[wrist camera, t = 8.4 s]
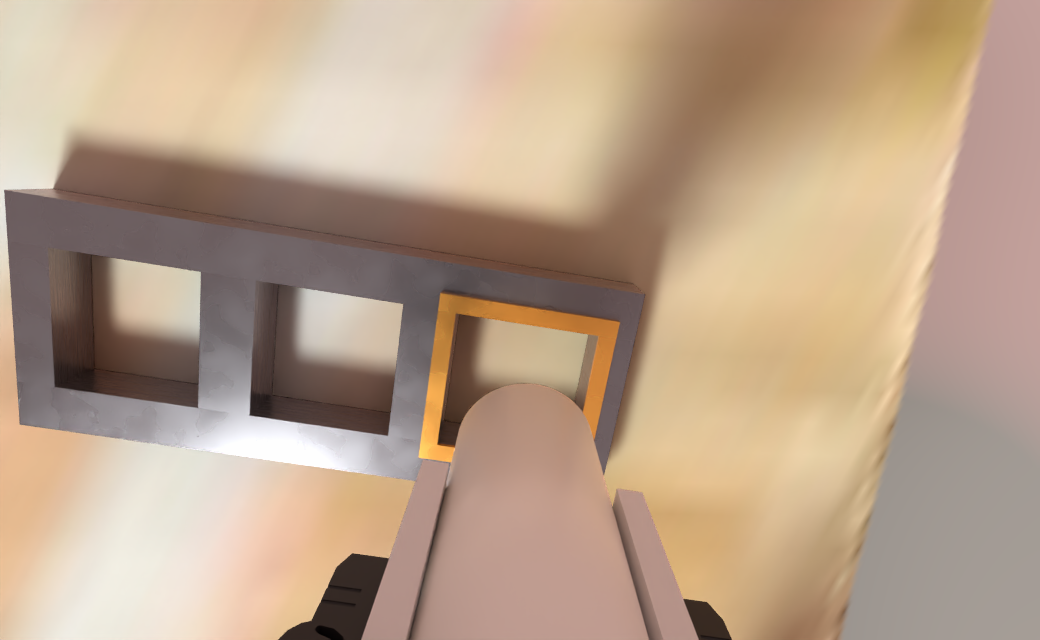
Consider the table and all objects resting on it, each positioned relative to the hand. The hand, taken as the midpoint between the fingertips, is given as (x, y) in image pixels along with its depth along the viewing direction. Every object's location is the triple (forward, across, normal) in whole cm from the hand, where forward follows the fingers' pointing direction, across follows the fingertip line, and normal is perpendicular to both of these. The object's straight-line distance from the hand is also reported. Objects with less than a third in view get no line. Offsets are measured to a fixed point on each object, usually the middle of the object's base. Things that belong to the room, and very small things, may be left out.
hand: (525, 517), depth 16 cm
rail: (+13, -9, 0) cm, 16 cm away
